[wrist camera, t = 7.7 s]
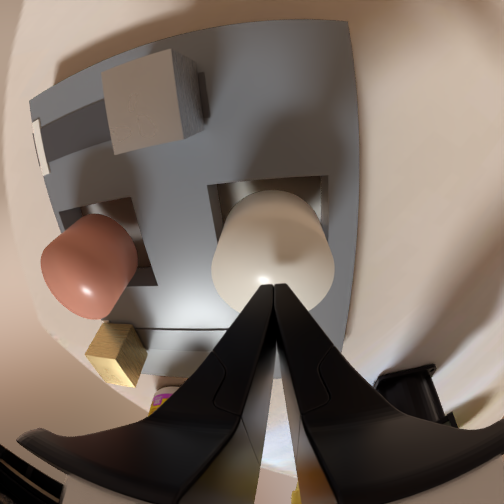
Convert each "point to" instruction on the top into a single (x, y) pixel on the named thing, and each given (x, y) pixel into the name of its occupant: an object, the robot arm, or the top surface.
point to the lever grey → (152, 101)
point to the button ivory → (272, 250)
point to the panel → (212, 171)
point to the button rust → (90, 265)
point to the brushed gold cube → (117, 354)
